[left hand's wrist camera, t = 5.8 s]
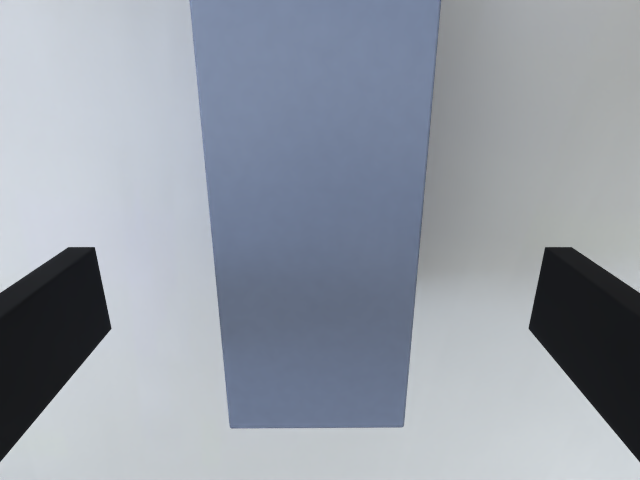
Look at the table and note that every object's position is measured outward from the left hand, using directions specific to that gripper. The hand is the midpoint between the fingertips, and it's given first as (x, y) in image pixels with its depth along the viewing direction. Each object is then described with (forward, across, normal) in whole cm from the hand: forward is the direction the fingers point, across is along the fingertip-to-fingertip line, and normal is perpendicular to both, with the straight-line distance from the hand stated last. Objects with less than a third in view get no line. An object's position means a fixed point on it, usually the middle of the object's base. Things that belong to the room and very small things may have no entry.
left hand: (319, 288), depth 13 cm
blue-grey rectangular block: (+10, 0, -4) cm, 10 cm away
